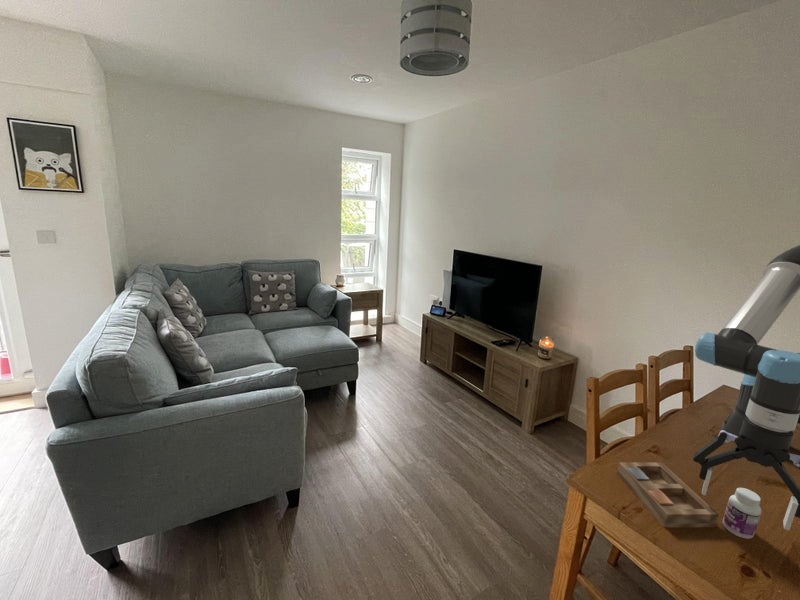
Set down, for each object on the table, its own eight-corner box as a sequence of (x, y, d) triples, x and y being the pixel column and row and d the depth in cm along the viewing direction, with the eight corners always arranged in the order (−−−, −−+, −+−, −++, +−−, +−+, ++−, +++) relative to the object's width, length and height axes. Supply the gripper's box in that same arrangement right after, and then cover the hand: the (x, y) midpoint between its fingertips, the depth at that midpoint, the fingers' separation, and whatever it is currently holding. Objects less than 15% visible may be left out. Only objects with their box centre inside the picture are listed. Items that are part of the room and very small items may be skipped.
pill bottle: (715, 520, 85) (725, 485, 83) (736, 519, 85) (746, 484, 83) (738, 540, 80) (749, 503, 77) (760, 539, 80) (772, 502, 78)
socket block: (659, 473, 100) (662, 461, 99) (715, 527, 83) (719, 512, 82) (617, 473, 100) (619, 461, 99) (664, 527, 83) (667, 512, 82)
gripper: (692, 407, 82) (672, 487, 87) (865, 459, 66) (829, 554, 71) (695, 396, 88) (676, 472, 92) (856, 442, 71) (823, 531, 76)
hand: (742, 508), depth 81 cm, fingers open, 13 cm apart
